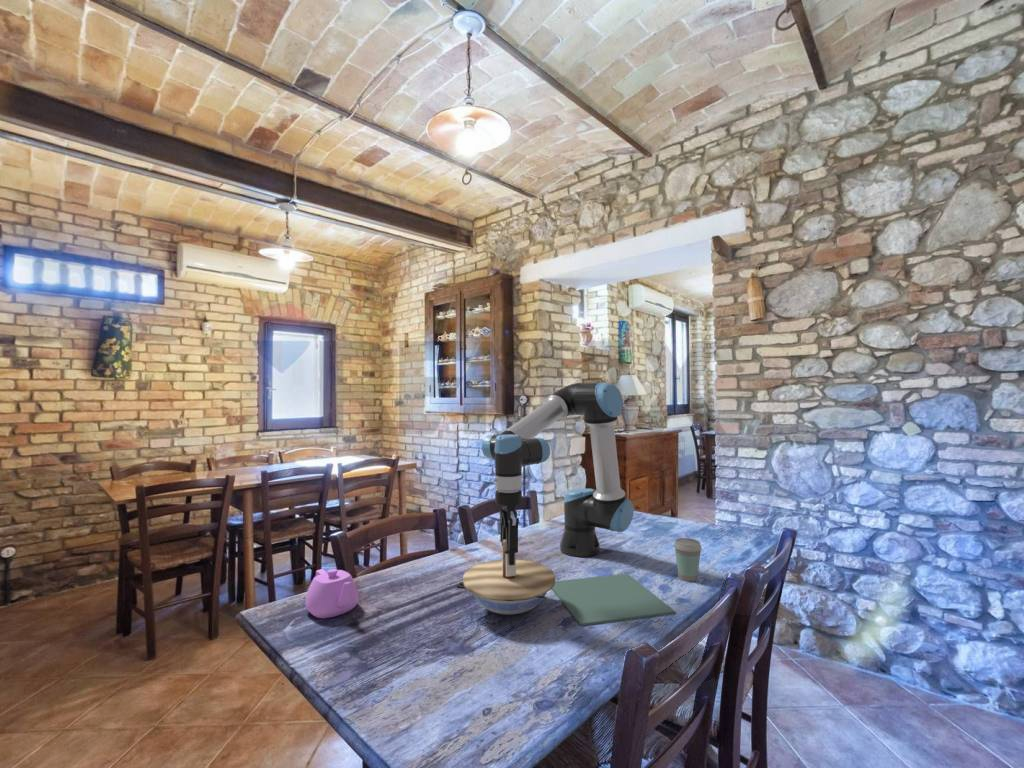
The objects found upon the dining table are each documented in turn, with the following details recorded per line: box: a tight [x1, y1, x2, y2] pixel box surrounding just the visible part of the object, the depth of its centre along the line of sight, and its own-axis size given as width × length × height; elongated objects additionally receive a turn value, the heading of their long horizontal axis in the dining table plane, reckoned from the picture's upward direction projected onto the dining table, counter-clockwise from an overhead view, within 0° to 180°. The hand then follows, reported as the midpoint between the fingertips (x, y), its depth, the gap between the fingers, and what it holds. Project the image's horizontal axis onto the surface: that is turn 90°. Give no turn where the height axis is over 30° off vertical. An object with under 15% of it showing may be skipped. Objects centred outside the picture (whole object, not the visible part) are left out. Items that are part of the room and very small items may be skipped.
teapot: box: [305, 568, 360, 619], centre depth 138 cm, size 13×20×11 cm
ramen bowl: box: [456, 582, 548, 616], centre depth 138 cm, size 25×23×8 cm
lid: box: [462, 539, 556, 600], centre depth 138 cm, size 26×26×11 cm
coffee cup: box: [673, 537, 702, 583], centre depth 160 cm, size 8×8×12 cm
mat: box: [551, 573, 676, 627], centre depth 145 cm, size 28×28×1 cm
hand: (509, 572), depth 138 cm, fingers closed on lid, 4 cm apart
